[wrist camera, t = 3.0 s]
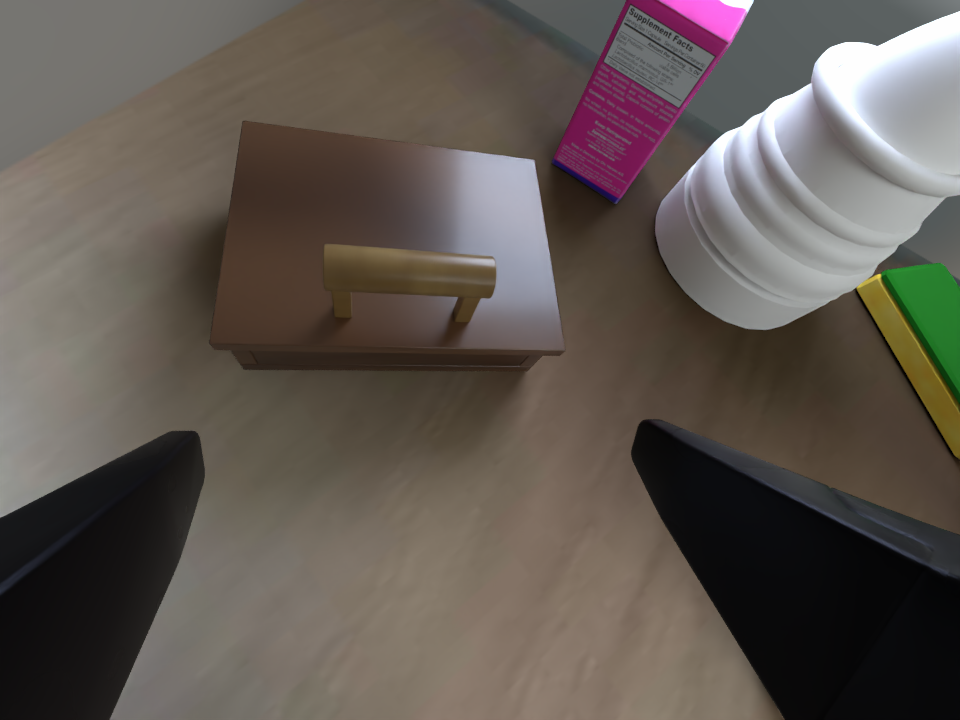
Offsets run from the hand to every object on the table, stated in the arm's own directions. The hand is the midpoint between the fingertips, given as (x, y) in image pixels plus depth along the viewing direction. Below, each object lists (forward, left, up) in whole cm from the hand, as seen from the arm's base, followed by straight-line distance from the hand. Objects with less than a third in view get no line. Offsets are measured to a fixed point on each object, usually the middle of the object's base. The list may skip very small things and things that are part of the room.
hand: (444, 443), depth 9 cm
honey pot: (+29, +2, -13) cm, 32 cm away
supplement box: (+24, +13, -13) cm, 31 cm away
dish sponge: (+38, -13, -13) cm, 43 cm away
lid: (+6, +10, -9) cm, 14 cm away
